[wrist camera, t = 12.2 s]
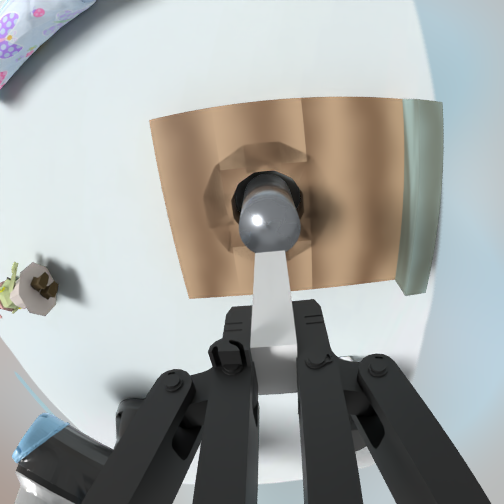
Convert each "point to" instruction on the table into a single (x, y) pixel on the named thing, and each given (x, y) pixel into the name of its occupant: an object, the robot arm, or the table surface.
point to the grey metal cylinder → (268, 215)
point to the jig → (307, 189)
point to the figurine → (29, 290)
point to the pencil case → (31, 28)
